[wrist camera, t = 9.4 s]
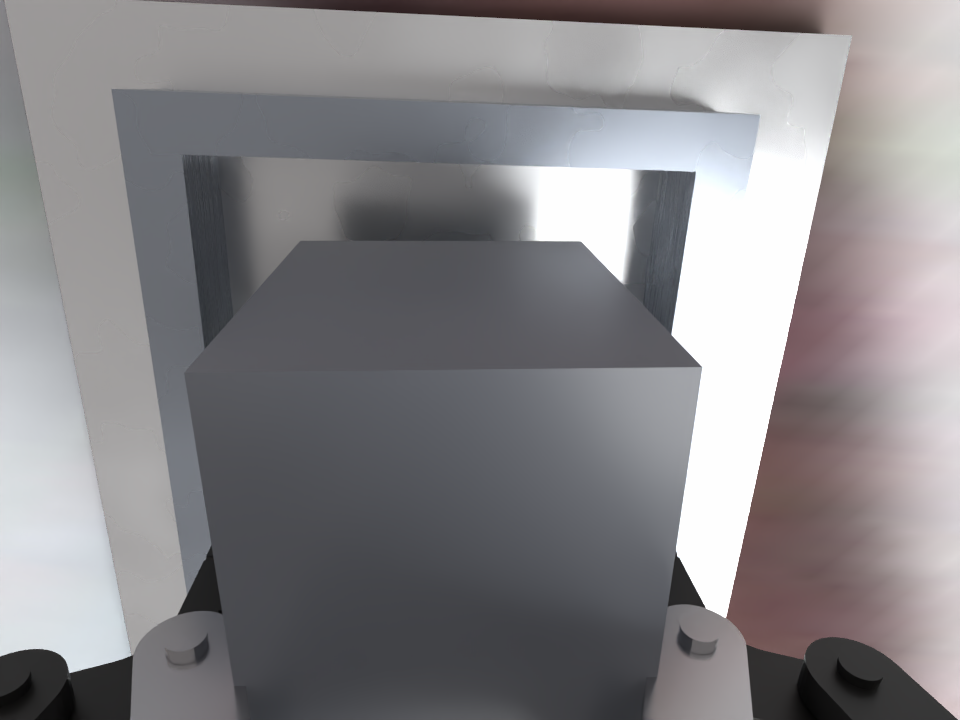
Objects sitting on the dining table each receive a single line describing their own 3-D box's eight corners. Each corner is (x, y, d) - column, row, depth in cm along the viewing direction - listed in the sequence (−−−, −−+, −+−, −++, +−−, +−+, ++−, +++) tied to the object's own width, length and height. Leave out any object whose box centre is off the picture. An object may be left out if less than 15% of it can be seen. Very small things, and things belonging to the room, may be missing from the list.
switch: (825, 38, 14) (919, 27, 12) (693, 682, 21) (733, 772, 18) (32, 0, 13) (-75, -24, 10) (158, 694, 20) (114, 793, 17)
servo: (581, 241, 12) (744, 411, 6) (551, 664, 16) (631, 1057, 9) (300, 240, 12) (141, 420, 5) (336, 672, 16) (267, 1084, 9)
